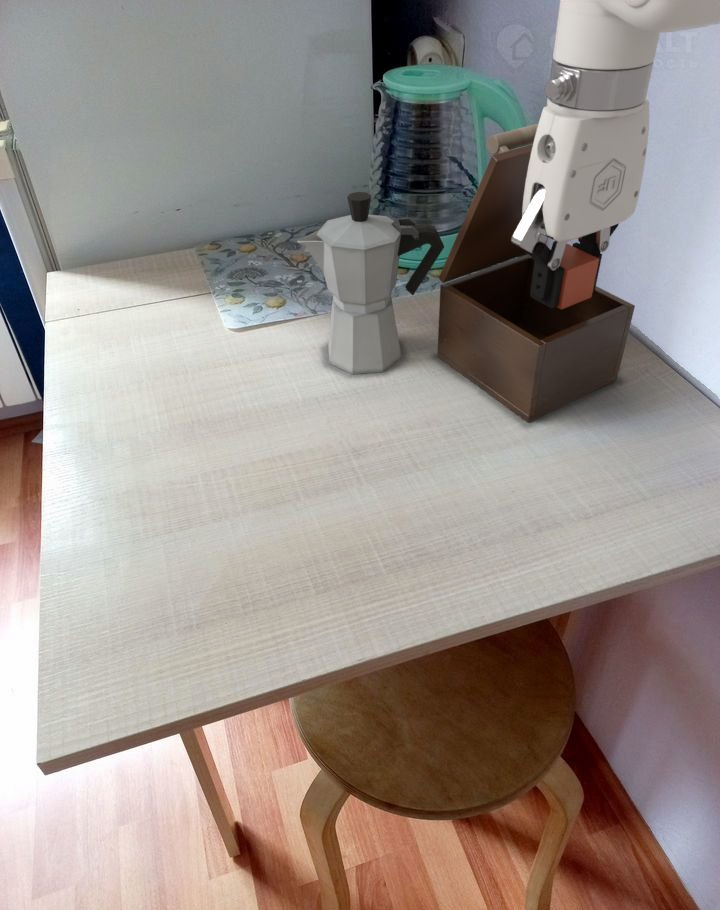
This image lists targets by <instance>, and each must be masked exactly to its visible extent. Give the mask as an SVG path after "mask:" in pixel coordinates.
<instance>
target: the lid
mask: <svg viewBox="0 0 720 910" xmlns="http://www.w3.org/2000/svg"><path fill="white" fill-rule="evenodd" d="M538 124H539V122H538V123H535V124H531V125H527V126H523V127H519V128H515V129H512V130H508V131H504V132H500V133H496V134H492V135H490V136H488V138H487V141H486V147H487V151H488V152H489V153H490V154H491V156H490V159H489V162H488V163H487V166H486V169H485V171H484V173H483V175H482V177H481V180H480V182H479V185H478V187H477V189H476V192H475V193H474V196H473V198H472V200H471V203H470V205H469V207H468V209H467V212H466V214H465V217H464V220H463V221H462V222H461V226H460V228H459V229H458V230H459V231H458V233H457V235H456V237H455V239H454V242H453V245H452V247H451V249H450V250H449V253H448V256H447V258H446V260H445V263H444V265H443V267H442V270H441V272H440V274H439V276H438V279H439V281H440V282H441V284H445V283H448V282H451V281H454V280H456V279H459V278H462V277H465V276H468V275H471V274H473V273H476V272H479V271H482V270H485V269H488V268H490V267H493V266H496V265H499V264H502V263H505V262H507V261H510V260H513V259H516V258H519V257H522V256H524V255H527V254H528V253H527V252H526V251H525V250H524V249H522V248H520V247H518V246H517V245H515V244H513V243H512V242H511V238H512V236H513V234H514V232H515V230H516V228H517V226H518V224H519V223H520V221H521V219H522V207H523V196H524V189H525V182H526V177H527V171H528V165H529V161H530V156H531V151H532V147H533V143H534V139H535V135H536V131H537V127H538Z"/></svg>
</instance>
